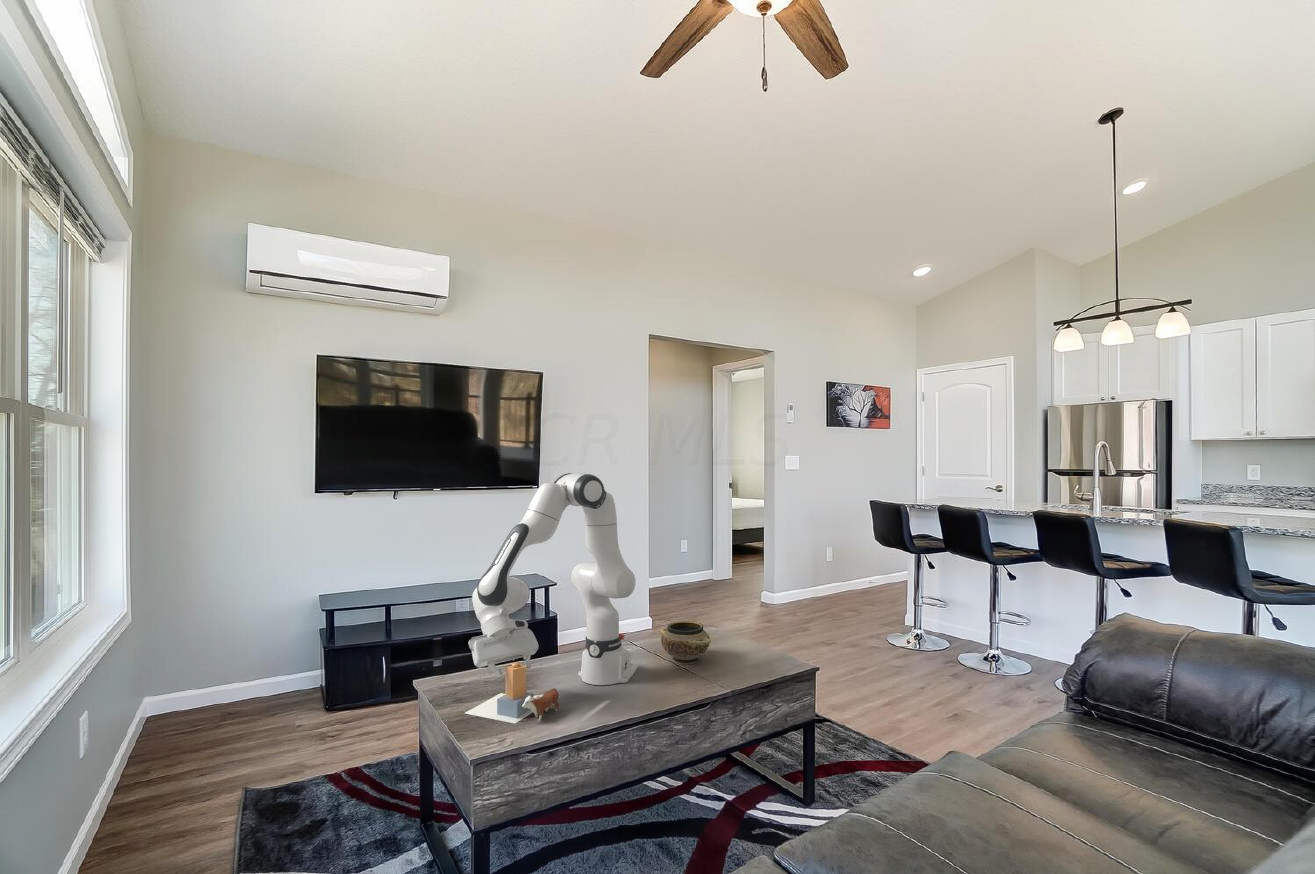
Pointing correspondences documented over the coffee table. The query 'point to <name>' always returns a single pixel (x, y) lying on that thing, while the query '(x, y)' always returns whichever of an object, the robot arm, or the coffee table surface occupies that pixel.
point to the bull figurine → (542, 702)
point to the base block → (512, 706)
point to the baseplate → (493, 711)
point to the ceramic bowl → (685, 641)
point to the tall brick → (515, 681)
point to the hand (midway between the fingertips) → (514, 672)
